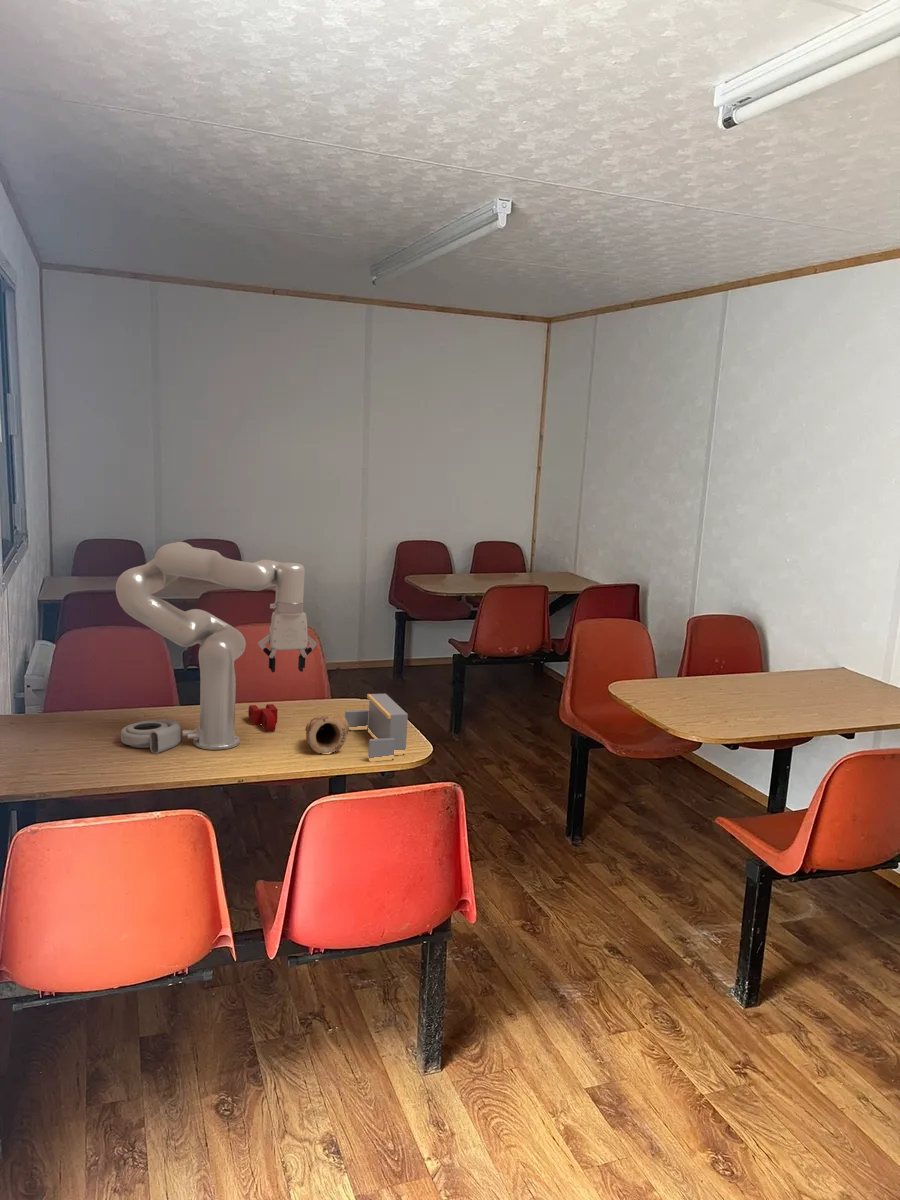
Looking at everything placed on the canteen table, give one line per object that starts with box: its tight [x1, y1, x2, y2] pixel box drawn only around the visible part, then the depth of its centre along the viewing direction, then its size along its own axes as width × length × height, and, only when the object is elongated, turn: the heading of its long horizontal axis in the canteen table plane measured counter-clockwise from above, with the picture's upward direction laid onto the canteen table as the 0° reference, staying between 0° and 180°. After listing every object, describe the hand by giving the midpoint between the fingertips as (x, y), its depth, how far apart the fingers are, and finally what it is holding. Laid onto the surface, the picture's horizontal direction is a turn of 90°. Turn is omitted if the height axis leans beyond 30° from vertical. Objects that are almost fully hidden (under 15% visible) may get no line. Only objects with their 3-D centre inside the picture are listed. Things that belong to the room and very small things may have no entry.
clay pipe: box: [305, 714, 349, 754], centre depth 249 cm, size 19×11×15 cm
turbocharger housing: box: [120, 719, 182, 755], centre depth 243 cm, size 17×6×15 cm
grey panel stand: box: [344, 693, 409, 758], centre depth 253 cm, size 12×29×12 cm, turn 21°
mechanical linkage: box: [247, 703, 278, 732], centre depth 265 cm, size 16×7×5 cm, turn 24°
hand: (286, 670), depth 241 cm, fingers open, 7 cm apart
